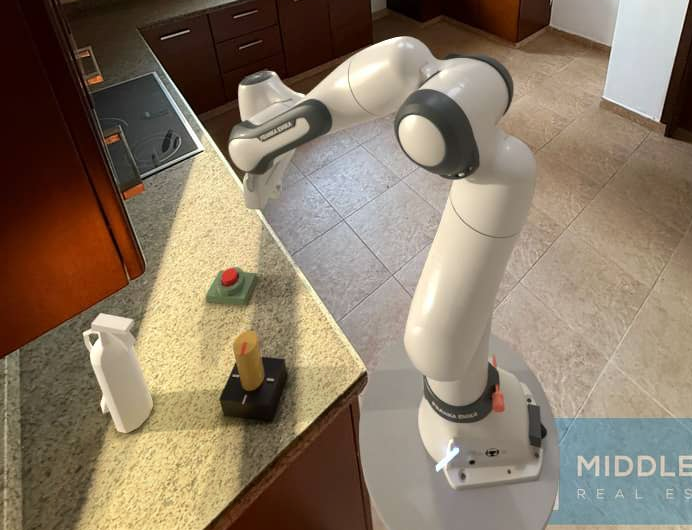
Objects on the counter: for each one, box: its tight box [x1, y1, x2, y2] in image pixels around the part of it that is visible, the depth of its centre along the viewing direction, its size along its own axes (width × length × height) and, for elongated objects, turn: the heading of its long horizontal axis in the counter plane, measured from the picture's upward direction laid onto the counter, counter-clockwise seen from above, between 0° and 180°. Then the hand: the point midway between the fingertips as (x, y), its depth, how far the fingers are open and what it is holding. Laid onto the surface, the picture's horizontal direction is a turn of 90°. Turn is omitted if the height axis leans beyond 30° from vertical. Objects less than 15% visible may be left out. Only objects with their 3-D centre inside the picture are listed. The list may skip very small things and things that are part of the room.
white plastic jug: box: [82, 312, 154, 434], centre depth 81 cm, size 7×12×25 cm, turn 80°
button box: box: [205, 266, 258, 307], centre depth 108 cm, size 10×7×4 cm
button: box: [222, 267, 238, 286], centre depth 107 cm, size 4×4×2 cm
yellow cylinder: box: [232, 330, 265, 391], centre depth 83 cm, size 4×4×10 cm
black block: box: [218, 353, 289, 423], centre depth 86 cm, size 10×9×5 cm
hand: (276, 194), depth 96 cm, fingers closed
